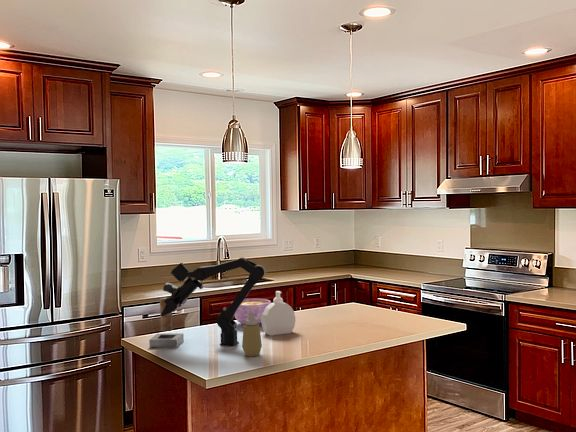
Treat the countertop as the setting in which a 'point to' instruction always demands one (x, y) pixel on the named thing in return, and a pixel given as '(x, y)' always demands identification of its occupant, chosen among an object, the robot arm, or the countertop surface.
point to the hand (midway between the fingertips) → (163, 314)
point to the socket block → (166, 340)
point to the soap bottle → (278, 317)
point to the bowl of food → (251, 309)
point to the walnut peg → (165, 317)
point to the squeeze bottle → (251, 337)
